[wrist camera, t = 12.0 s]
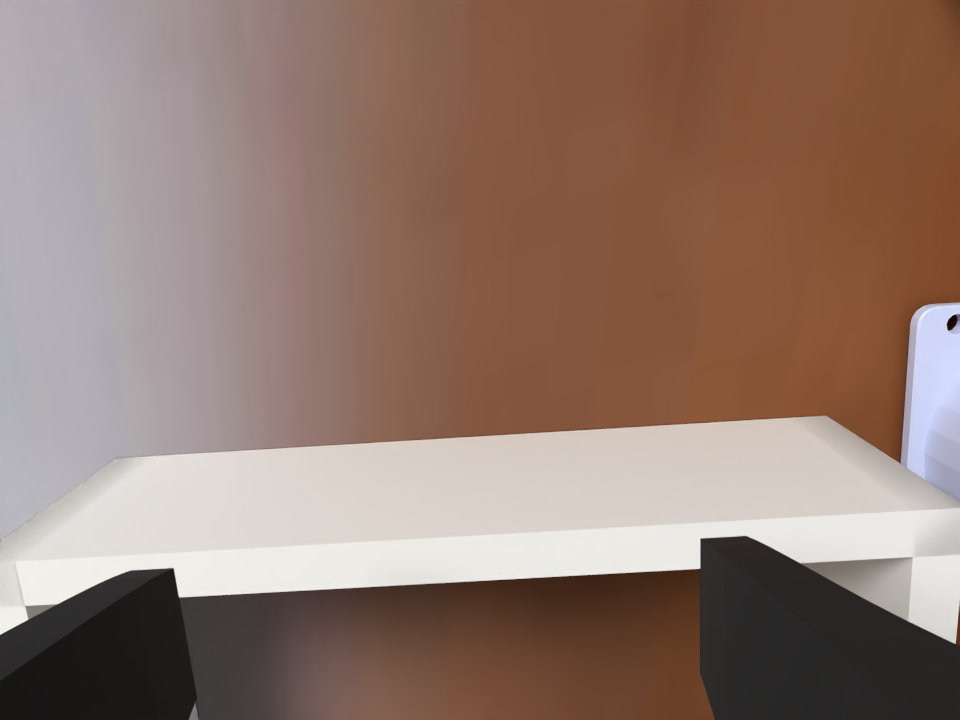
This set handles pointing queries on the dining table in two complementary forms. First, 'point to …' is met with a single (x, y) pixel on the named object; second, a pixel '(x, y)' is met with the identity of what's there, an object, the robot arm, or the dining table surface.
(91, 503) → the open folding screen
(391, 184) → the dining table surface
